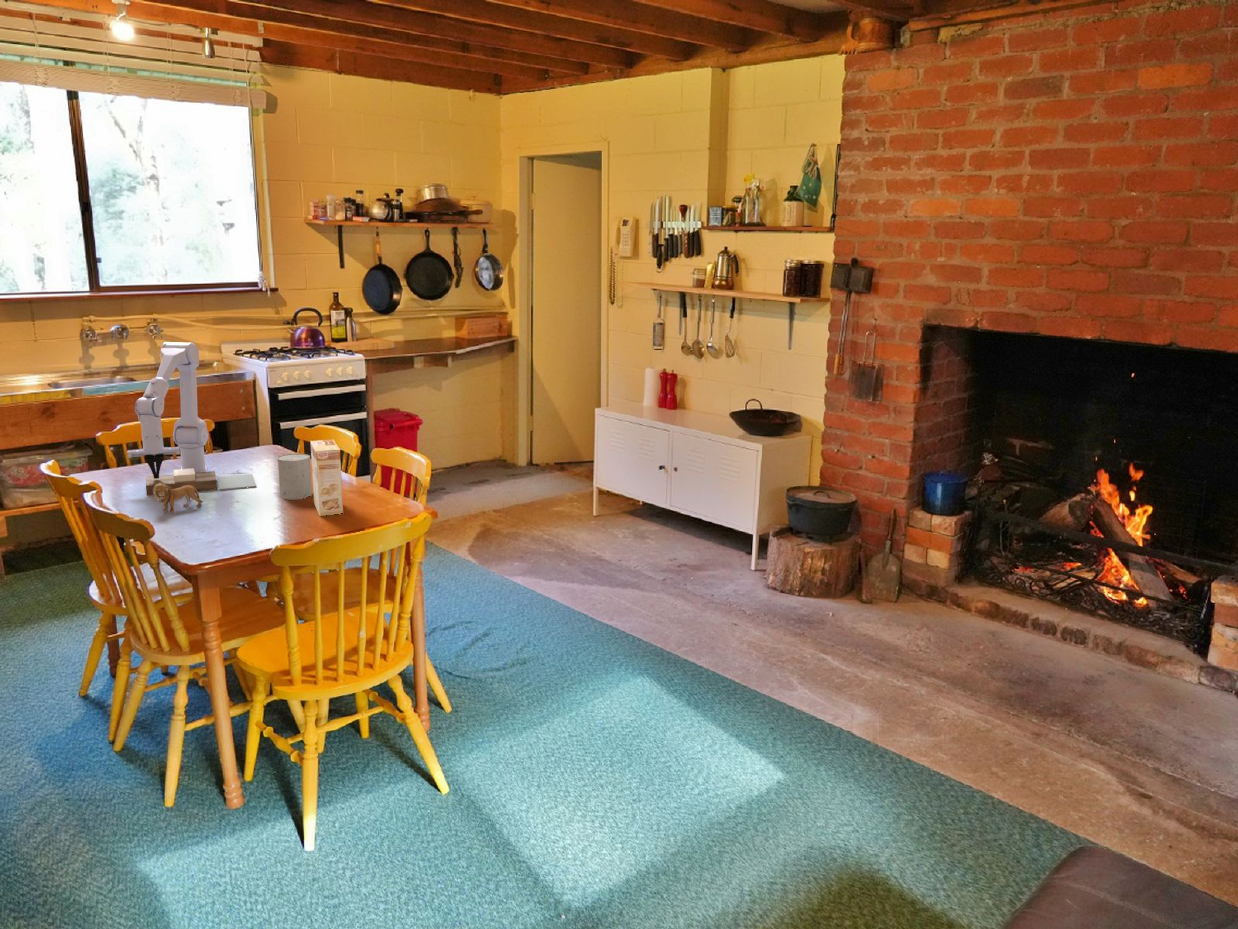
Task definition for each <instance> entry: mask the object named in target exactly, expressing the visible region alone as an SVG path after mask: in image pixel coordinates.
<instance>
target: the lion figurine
mask: <svg viewBox="0 0 1238 929" xmlns="http://www.w3.org/2000/svg"><path fill="white" fill-rule="evenodd" d="M153 494H154V495H153V497H154V499H155V500H156V501H158V502H159V503H160V504H163V506H164V509H163V510H162V511H163V512H169V514H171V513H174V511H175V507H174V505H175V504H174V503H175V501H176V502H177V501H180V500H183V499H185V500H186V503H185V504H182V505H183V507H185V508H186V507H188V506H189V505H190V504H191V502H192V500H193V501H195V502H197V503H196V505H195V506H196V507H198V508H200V507H201V506H202V503H203V501H202V500H201V497H200V495H199V494H200V493H199V491H197V490H196V488H195V487H193V486H191V485H186V486H183V487H180V488H176V489H175V488H172V487H170V486H168V485H165V484H162V483H160V484H156V485H155V486H154V488H153Z"/></svg>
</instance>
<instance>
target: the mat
mask: <svg viewBox="0 0 1238 929" xmlns="http://www.w3.org/2000/svg"><path fill="white" fill-rule="evenodd" d="M216 481H217V488H218V490H220V491H228V490H229V491H231V489H232V490H238V489H239V488H243V489H248V488H247V487H254V488H257V484H256V481H255V477H254V476H253V473H248V474H247V473H246V474H234V475H225V476H222V475H221V476H216ZM239 490H240V489H239Z"/></svg>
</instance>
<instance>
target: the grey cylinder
mask: <svg viewBox="0 0 1238 929" xmlns="http://www.w3.org/2000/svg"><path fill="white" fill-rule="evenodd" d="M277 468H278V482H279V497H280V498H281V499H283V500H288V501H290V500H291V501H293V500H303V498H304V499H307V498H306V497H308V496H310V497H312V496H313V493H312V492H313V486H312V475H311V474H312V469H311V455H309V454H307V453H287V454H282V455H279V456H277ZM308 498H309V497H308Z"/></svg>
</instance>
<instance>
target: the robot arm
mask: <svg viewBox="0 0 1238 929" xmlns="http://www.w3.org/2000/svg"><path fill="white" fill-rule="evenodd" d="M160 357H161V362H160V364H159V367H158V371H157V374H156V376H155V377H153V378H151V379H150V380H149V382H148V384H147V387H146V388H145V390H144V393H143V396H142V397H140V398H138V399H137V400H136V401H135V404H134V412H135V414H136V415H137V420H138V422H140V430H141V439H142V448H139V449H130V450H127V452H126V453H127V458H128V459H130V458H131V459H132V458H138V457H144V460H145V462H146V463H147V465H148V467H149V469H150V470H151V473H152V476H154V479H158V478H159V476H160V471H161V467H162V464H163V461H164V459H165V455H180V460H181V467H180V469H191V468H194V471H195V473H198V472H208V467H207V465H206V460H205V448H204V446H206V444H207V443H208V440H209V430H208V427H207V422H206V421H204V420H203V419H201V418H200V417H199V416H198V386H197V384H198V383H197V368H198V367H199V366H200V352H199V348H198V346H197V345H196V344H195V343H194V342H174V341H173V342H172V341H171V342H169V341H164V342H163V343H162V345H161V347H160ZM176 369H177V370H178V371H179V394H180V398H179V399H180V417H179V419H177V420H176V421H175V422H174V423H173V424H174V425H173V432H172V440H173V442H174V443H175V444H176V445H177V446H173V447H172V446H169V447H168V446H166V447H165V446H164V438H163V427H162V414H163V413H164V410H165V403H166V402H165V398H166V395H167V394H168V392H169V388H170V385H169V380H170V379H171V376H173V373H174V372H175V370H176Z"/></svg>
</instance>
